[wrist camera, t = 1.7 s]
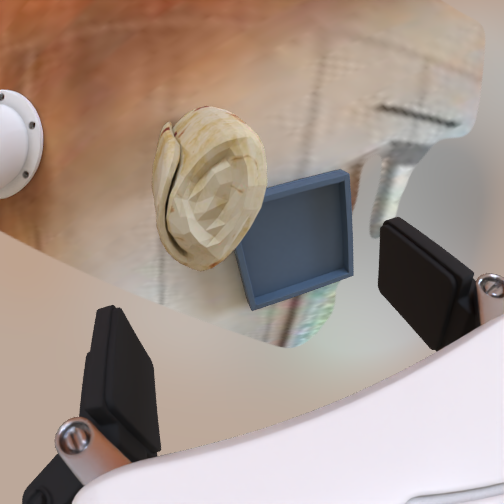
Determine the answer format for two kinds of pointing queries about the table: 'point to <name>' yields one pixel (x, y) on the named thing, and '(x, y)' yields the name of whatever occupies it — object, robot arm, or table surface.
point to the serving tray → (298, 239)
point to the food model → (207, 185)
